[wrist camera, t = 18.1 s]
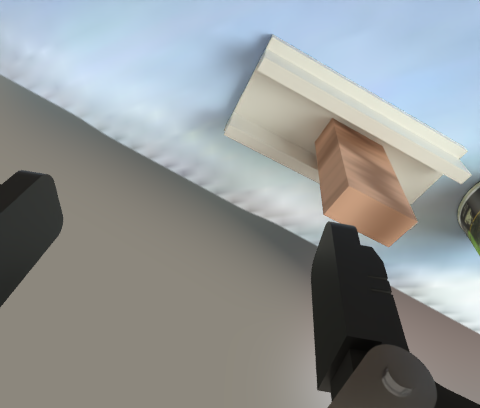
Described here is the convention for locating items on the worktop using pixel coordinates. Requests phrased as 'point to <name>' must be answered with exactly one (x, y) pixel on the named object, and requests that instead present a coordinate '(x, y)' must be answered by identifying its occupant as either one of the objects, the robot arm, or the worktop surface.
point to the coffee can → (471, 215)
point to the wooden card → (361, 185)
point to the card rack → (341, 109)
